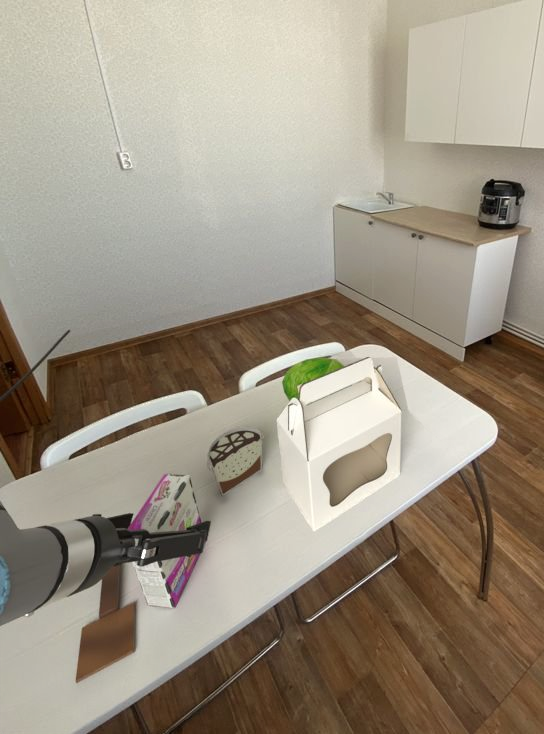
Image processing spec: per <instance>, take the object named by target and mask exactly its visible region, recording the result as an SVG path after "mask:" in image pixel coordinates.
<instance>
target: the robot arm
mask: <svg viewBox="0 0 544 734" xmlns="http://www.w3.org/2000/svg"><path fill="white" fill-rule="evenodd" d="M70 332H71V329H67V330H66V331H65V332H64V333H63V334H62V336H61V337H59V339H58V340H57V341H56V342H55V343H54V344H53V345H52V346H51V347H50V348H49V350H48V351H47V352H46V353H45V354H44V355H43V356H42V357H41V358H40V359H39V360H38V361H37V362H36V364H34V365H33V367H32V368H31V369H30V370H29V371H28V372H26V374H24V375H23V377H21V378H20V379H19V381H17V382H16V383H15V384H13V386H12V387H10V389H8V390H7V391H6V392H5V393H3V395H1V396H0V403H1V402H2V401H3V400H5V399H6V398H7V397H8V396H9V395H11V394H12V392H14V391H15V390H16V389H17V388H19V386H21V384H22V383H24V382H25V380H27V379H28V378H29V377H30V375H31V374H33V372H35V371H36V369H38V367H40V365H41V364H42V363H43V362H44V361H45V360H46V359H47V358H48V357H49V356H50V355H51V354H52V352H53V351H54V350H55V349H56V348H57V347H58V345H59V344H60V343H61V342H62V341H63V340H64V339H65V338H66V337H67V336H68V335H69V333H70ZM134 515H135V514H134V513H133V512H128V513H123V514H119V515H114V516H109V517H104V516H102V514H101V513H93V514H92V515H90V516H86V517H80V518H75V519H68V520H63V521H59V522H54V523H50V524H45V525H39V526H34V527H28V528H23V529H20V528H19V527H18V526H17V524H16V523H15V521H14V519H13V518H12V515H10V514H9V512H8V510H7V509H6V508H5V506H4V505H3V502H2V501H1V500H0V627H2V626H4V625H6V624H9V623H10V622H13V621H15V620H18V619H20V618H22V617H23V618H30V617H32V616H34V614H35V612H36V611H38V610H40V609H42V608H45V607H47V606H49V605H52V604H54V603H56V602H59V601H61V600H63V599H66V598H69V597H71V596H74V595H77V594H78V593H81V592H83V591H85V590H88V589H90V588H92V587H94V586H96V585H97V584H98V583H100V581H102V579H103V578H104V576H105V575H106V574H107V573H108V572H109V570H110V569H111V568H112V567H113V566H118V565H120V564H127V563H132V562H136V561H138V563H137V565H138V566H140V567H143V566H145V565H149V564H151V563H154V562H158V561H163V560H169V559H174V558H179V557H184V556H187V557H192V555H194V554H200V555H201V554H203V552H204V547H205V544H206V542H207V541H208V538H209V533H210V528H211V523H212V522H211V520H204V521H201V523H199V524H196V525H193V526H190V527H187V529H186V530H180V531H166V532H153V533H149V531H147V530H145V529H135V530H127V529H128V527H129V526H130V524H131V523H132V521H133V519H134V518H133V517H134ZM138 535H140V536H139V540H138V544H137V546H135V544H136V543H135V538H134V536H138ZM204 543H205V544H204Z"/></svg>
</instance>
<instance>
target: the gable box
mask: <svg viewBox="0 0 544 734" xmlns="http://www.w3.org/2000/svg"><path fill="white" fill-rule="evenodd" d="M383 374H384V373H383V366H382V365H381V364H379V365H377V366H376V367H375V366H374V361H373V359H372V358H371V357H370V356H367V357H364V358H361V359H358V360H357V361H354V362H352V363H349V364H346V365H344V367H342V368H339V369H337V370H334V371H332V372H329V373H327V374H325V375H322V376H320V377H317V378H315V379H312V380H310V381H307V382H305V383H303V384H300V385H298V386H297V390H298V393H299V399H298V398H292V399H291V401H289V402H288V403H287V404H286V406H285V408H284V409H283V411H282V412H281V413H280V414H279V416H278V417H277V419H276V420H275V421H276V430H277V438H278V446H279V453H280V454H279V456H280V465H281V473H282V483H283V486H284V488H285V489H286V492H287V493H288V494H289V496H290V497H291V499H292V501H293V502H294V503H295V505H296V507H297V508H298V510H299V511H300V513H301V514H302V517H304V519H305V520H306V522H307V524H308V525H309V527H310V529H311V530H312V532H316V531H318V530H319V529H321V528H322V527H324V526H325V525H327V524H329V523H330V522H332V521H333V520H334V519H336V518H337V517H339V516H341V515H342V514H344V513H345V512H346V511H348V510H350V509H351V508H353V507H354V506H355V505H357V504H359V503H361V502H362V501H363V500H364V499H366V498H368V497H369V496H371V495H372V494H374V493H375V492H377V491H379V490H380V489H382V488H383V487H384V486H386V485H388V484H389V483H390V482H392V481H394V480H395V479H396V478H398V477H399V476H400V475H401V450H402V449H401V448H402V447H401V446H402V442H401V441H402V413H403V411H402V408H401V407H400V405H399V403H398V401H397V399H396V398H395V397H394V395H393V393H392V391H391V389H390V388H389V385H388V384H387V383H386V382H387V381H386V380H385V378H384V375H383ZM350 385H352V386H350ZM347 386H350V387H347ZM345 387H347V388H345ZM343 388H345V389H343ZM341 389H343V390H341ZM338 390H341V391H338ZM336 391H338V392H336ZM334 392H336V393H334ZM332 393H334V394H332ZM329 394H332V395H329ZM327 395H329V396H327ZM325 396H327V397H325ZM323 397H325V398H323ZM321 398H323V399H321ZM318 399H321V400H318ZM316 400H318V401H316ZM314 401H316V402H314ZM311 402H314V403H312V404H310V403H311ZM307 404H309V405H307ZM306 405H307V406H306Z"/></svg>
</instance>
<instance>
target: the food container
mask: <svg viewBox="0 0 544 734" xmlns="http://www.w3.org/2000/svg"><path fill="white" fill-rule="evenodd" d="M264 439H265V437H264V435H263V433H262V432H261V431H260V430H259V429H256V428H253V427H249V426H248V427H247V426H244V427H243V426H242V427H236V428H232V429H230V430H227V431H225V432H222V434H220V435H219V436H218V437H216V438H215V439H214V441H213V442H212V443H211V444H210V446H209V449H208V451H207V458H206V466H207V469H208V471H209V472H211V471H212V472H213V475H214V478H215V480H216V483H217V487H218V488H219V492H220V494H221V496H222V497H223V496H225V495H227V494H228V493H230V492H231V491H232V490H234V489H236V488H237V487H239V486H240V485H242V484H243V483H244V482H247V480H249V479H251V478H252V477H254V476H255V475H256V474H258V473H260V472H261V471H262V470H263V457H262V452H263V451H262V448H263V447H262V446H263V445H262V440H264Z"/></svg>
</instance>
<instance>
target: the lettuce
mask: <svg viewBox="0 0 544 734" xmlns="http://www.w3.org/2000/svg"><path fill="white" fill-rule="evenodd" d="M344 366H345V365H343V363H341V362H340V361H339V360H338V359H337V358H330V357H322V356H319V357H313V358H306V359H303V360H301V361H300V362H297V363H295V364H294V365H293V366H291V367H290V369H288V370H287V371H286V372H285V374H284V377H283V379H282V380H281V384H282V388H283V392H284V394H285V396H286V398H287V400H288V401H289V402H290V401H291V399H292V398H298V399H299V393H298V390H297V386H298V385H300V384H303V383H305V382H307V381H310V380H312V379H315V378H317V377H320V376H322V375H325V374H327V373H329V372H332V371H334V370H337V369H339V368H342V367H344ZM352 385H353V384H352ZM352 385H350V386H352ZM350 386H347V387H350ZM347 387H345V388H347ZM345 388H343V389H345ZM343 389H341V390H343ZM341 390H338V391H341ZM338 391H336V392H338ZM336 392H334V393H336ZM334 393H332V394H334ZM332 394H329V395H332ZM329 395H327V396H329ZM327 396H325V397H327ZM325 397H323V398H325ZM323 398H321V399H323ZM321 399H318V400H321ZM318 400H316V401H318ZM316 401H314V402H316ZM314 402H311V403H310V404H312V403H314ZM307 405H309V404H307ZM307 405H306V406H307Z"/></svg>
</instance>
